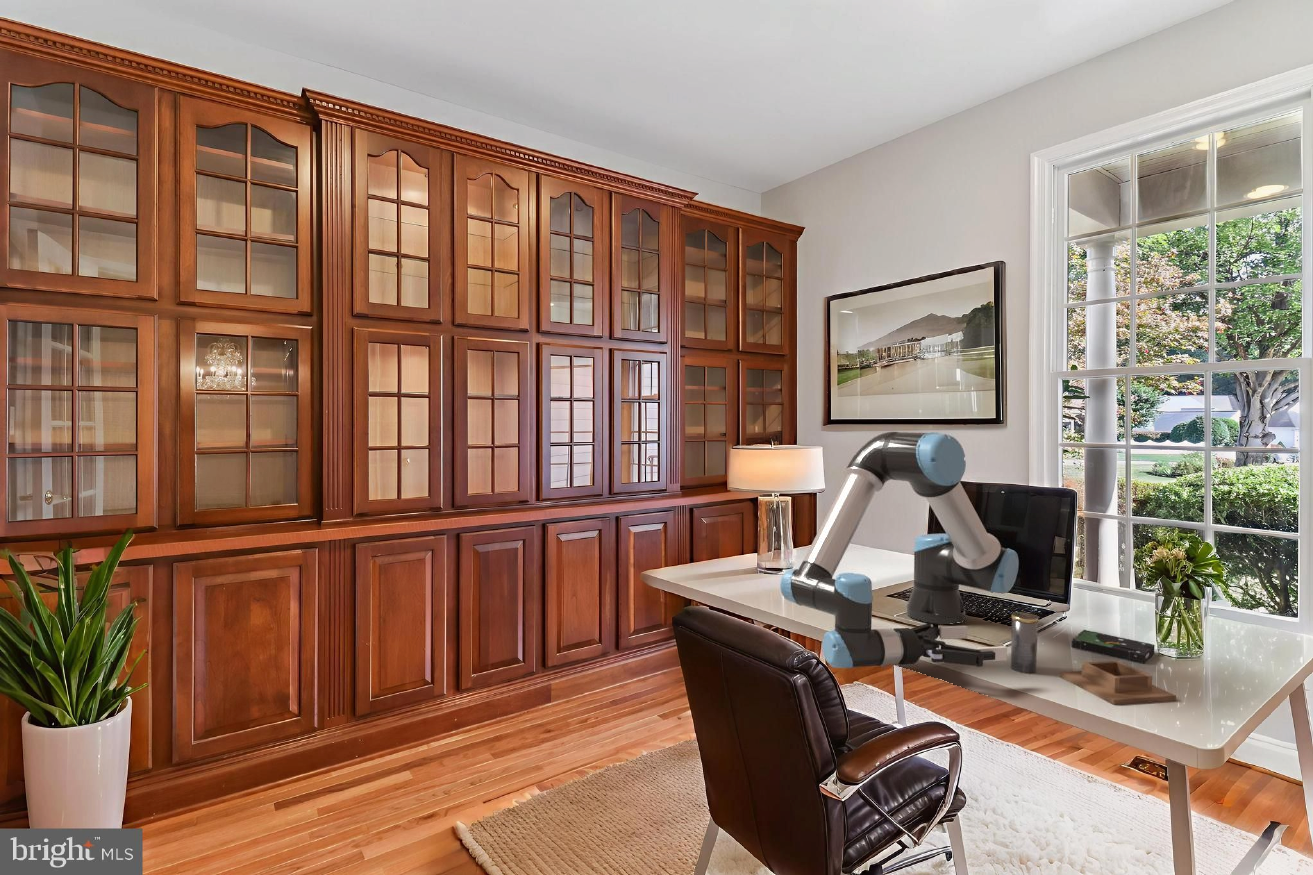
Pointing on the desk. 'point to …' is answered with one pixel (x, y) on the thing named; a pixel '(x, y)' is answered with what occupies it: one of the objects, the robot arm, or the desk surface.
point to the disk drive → (1113, 646)
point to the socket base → (1117, 683)
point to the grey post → (1024, 642)
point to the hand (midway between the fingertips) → (985, 641)
